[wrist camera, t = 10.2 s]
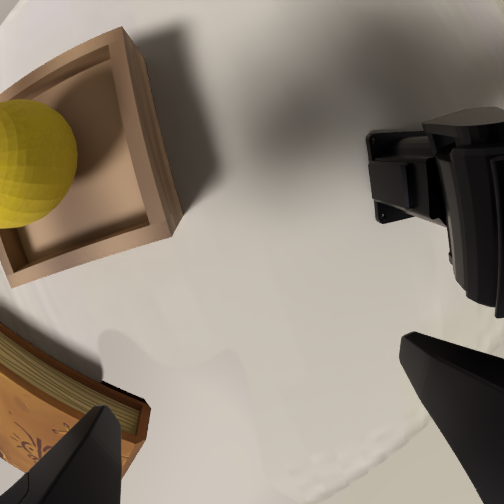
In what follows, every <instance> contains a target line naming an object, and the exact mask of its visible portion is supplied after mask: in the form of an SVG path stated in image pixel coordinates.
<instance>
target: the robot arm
mask: <svg viewBox="0 0 504 504" xmlns="http://www.w3.org/2000/svg"><path fill="white" fill-rule="evenodd" d="M422 126H423V129H424V131H415V132H393V133H377V134H370V135H368V136H367V138H366V144H367V150H368V156H369V165H368V167H369V174H370V182H371V191H372V198H373V199H374V205H375V217H376V220H377V222H379V223H381V224H386V223H390V222H394V221H398V220H403V219H407V218H411V217H415V216H416V217H419V218H422V219H424V220H427V221H430V222H433V223H436V224H438V225H441V226H444V227H446V228H447V231H448V239H449V248H450V252H449V261H450V263H451V264H452V265H453V271H454V275H455V278H456V281H457V282H458V283H459V284H460V285H461V287H462V288H463V289H464V290H465V291H466V296H467V297H468V298H469V299H471V300H473V301H475V302H477V303H479V304H482V305H485V306H488V307H494V308H495V317H496V318H504V110H503V109H500V108H497V107H485V108H475V109H467V110H463V111H460V112H456V113H453V114H449V115H446V116H443V117H439V118H436V119H433V120H430V121H426V122H423V123H422ZM372 138H374V139H375V143H374V144H373V143H372ZM382 214H384V218H383V219H381V216H382ZM399 360H400V363H401V365H402V367H403V368H404V370H405V372H406V374H407V376H408V378H409V380H410V382H411V384H412V386H413V388H414V389H415V391H416V393H417V395H418V397H419V399H420V400H421V402H422V404H423V405H424V407H425V408H426V410H427V411H428V413H429V414H430V416H431V417H432V419H433V420H434V422H435V423H436V425H437V426H438V428H439V429H440V431H441V433H442V434H443V436H444V437H445V439H446V440H447V442H448V444H449V445H450V447H451V448H452V450H453V452H454V453H455V455H456V456H457V458H458V460H459V461H460V463H461V465H462V466H463V468H464V470H465V471H466V473H467V475H468V476H469V478H470V480H471V482H472V483H473V485H474V487H475V488H476V491H477V492H478V494H479V496H480V498H481V500H482V501H483V503H484V504H504V359H503V358H500V357H496V356H493V355H489V354H486V353H483V352H479V351H476V350H473V349H469V348H466V347H463V346H460V345H456V344H453V343H450V342H447V341H443V340H440V339H437V338H434V337H431V336H427V335H424V334H421V333H418V332H414V331H413V332H410V333H408V334H406V335H404V336H402V338H401V344H400V353H399ZM121 476H122V451H121V424H120V422H119V420H118V419H117V417H116V416H115V415H114V413H113V412H112V411H111V409H110V408H109V407H108V406H107V405H95V406H93V407H92V408H91V409H90V410H89V411H88V412H87V413H86V414H85V415H84V416H83V417H82V418H81V419H80V420H79V421H78V422H77V423H76V424H75V425H74V426H73V427H72V428H71V429H70V430H69V431H68V432H67V433H66V434H65V435H64V436H63V437H62V438H61V439H60V440H59V441H58V442H57V443H56V444H55V445H54V446H53V447H52V448H51V449H50V450H49V451H48V452H47V453H46V454H45V455H44V456H43V457H42V458H41V459H40V460H39V461H38V462H37V463H36V464H35V465H33V466H32V467H31V468H30V469H29V472H26V473H25V474H24V475H23V476H22V477H21V478H20V479H19V480H18V481H17V482H16V483H15V484H14V485H13V486H12V487H10V488H9V489H8V490H7V491H6V492H4V493H3V494H2V495H1V496H0V504H120V495H121Z"/></svg>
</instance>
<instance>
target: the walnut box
mask: <svg viewBox="0 0 504 504" xmlns="http://www.w3.org/2000/svg"><path fill="white" fill-rule="evenodd" d="M15 99H26V100H32V101H36V102H41V103H44V104H46V105H48V106H50V107H51V108H52V109H54V110H55V111H57V112H58V113H60V114H61V115H62V116H63V118H64V119H65V120H66V122H67V123H68V124H69V126H70V127H71V129H72V132H73V134H74V137H75V140H76V144H77V152H78V157H77V168H76V172H75V176H74V180H73V182H72V184H71V186H70V189H69V191H68V193H67V194H66V195H65V197H64V198H63V199H62V201H61V202H60V204H59V205H58V206H57V207H56V208H54V209H53V210H52V211H51V212H50V213H49V214H47V215H46V216H45V217H43V218H41V219H39V220H37V221H35V222H33V223H31V224H28V225H26V226H22V227H16V228H0V261H1V264H2V266H3V269H4V272H5V274H6V277H7V279H8V281H9V284H10V286H11V288H14V287H17V286H20V285H22V284H25V283H28V282H31V281H34V280H37V279H39V278H42V277H45V276H48V275H51V274H54V273H57V272H60V271H63V270H66V269H69V268H72V267H75V266H78V265H81V264H84V263H87V262H90V261H93V260H97V259H100V258H103V257H106V256H109V255H112V254H116V253H119V252H122V251H125V250H129V249H132V248H135V247H139V246H142V245H145V244H149V243H152V242H155V241H159V240H162V239H166V238H169V237H172V235H173V233H174V231H175V229H176V228H177V226H178V224H179V222H180V220H181V219H182V217H183V213H182V209H181V206H180V202H179V199H178V195H177V192H176V188H175V185H174V181H173V177H172V174H171V170H170V166H169V162H168V159H167V155H166V151H165V147H164V143H163V139H162V135H161V131H160V127H159V122H158V118H157V114H156V110H155V105H154V101H153V96H152V92H151V87H150V83H149V78H148V73H147V68H146V63H145V59H144V57H143V56H142V54H141V53H140V51H139V50H138V49H137V47H136V46H135V44H134V43H133V41H132V40H131V39H130V37H129V36H128V34H127V33H126V31H125V30H124V29H123V27H122V26H121V27H119V28H116V29H114V30H111V31H109V32H106V33H104V34H102V35H99V36H97V37H95V38H93V39H91V40H88V41H86V42H84V43H82V44H80V45H78V46H76V47H74V48H72V49H70V50H68V51H66V52H65V53H63V54H61V55H59V56H57V57H56V58H54V59H52V60H50V61H49V62H47V63H45V64H44V65H42V66H40V67H39V68H37V69H36V70H34V71H32V72H31V73H29V74H28V75H26V76H25V77H23V78H22V79H20V80H19V81H18V82H16V83H15V84H13V85H12V86H11V87H9V88H8V89H7V90H5V91H4V92H3V93H1V94H0V102H4V101H9V100H15Z"/></svg>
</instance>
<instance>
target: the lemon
mask: <svg viewBox="0 0 504 504" xmlns="http://www.w3.org/2000/svg"><path fill="white" fill-rule="evenodd" d="M77 157H78V152H77V144H76V140H75V137H74V134H73V132H72V129H71V127H70V126H69V124H68V123H67V122H66V120H65V119H64V118H63V116H62V115H61V114H60V113H58V112H57V111H55V110H54V109H52V108H51V107H50V106H48V105H46V104H44V103H41V102H36V101H32V100H26V99H15V100H9V101H4V102H0V228H16V227H22V226H26V225H28V224H31V223H33V222H35V221H37V220H39V219H41V218H43V217H45V216H46V215H47V214H49V213H50V212H51V211H52V210H53V209H54V208H56V207H57V206H58V205H59V204H60V202H61V201H62V199H63V198H64V197H65V195H66V194H67V193H68V191H69V189H70V186H71V184H72V182H73V180H74V176H75V172H76V168H77Z"/></svg>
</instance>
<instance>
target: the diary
mask: <svg viewBox="0 0 504 504" xmlns="http://www.w3.org/2000/svg"><path fill="white" fill-rule="evenodd" d="M95 405H107V406H108V407H109V408H110V409H111V411H112V412H113V413H114V415H115V416H116V417H117V419H118V420H119V422H120V424H121V451H122V476H121V479H122V478H123V476H124V475H125V473H126V471H127V470H128V468H129V466H130V465H131V463H132V462H133V460H134V458H135V456H136V455H137V453H138V452H139V450H140V448H141V447H142V445H143V444H144V442H145V440H146V437H147V430H148V424H149V417H150V411H151V408H150V407H149V405H148V404H147V402H146V401H145V399H144V398H141V397H139V396H136V395H134V394H132V393H129V392H127V391H125V390H122V389H120V388H118V387H116V386H113V385H111V384H109V383H107V382H105V381H103V380H102V381H101V383H98V382H96V381H94V380H92V379H90V378H88V377H86V376H84V375H83V374H81V373H79V372H77V371H75V370H73V369H71V368H70V367H68V366H66V365H64V364H62V363H61V362H59V361H57V360H56V359H54V358H52V357H50V356H49V355H47V354H46V353H44V352H42V351H41V350H39V349H38V348H36V347H34V346H33V345H31V344H30V343H28V342H27V341H25V340H24V339H22V338H21V337H19V336H18V335H17V334H15V333H14V332H12V331H11V330H10V329H8V328H7V327H6V326H4V325H3V324H1V323H0V457H1V458H2V459H4V460H5V461H7V462H8V463H10V464H12V465H13V466H15V467H16V468H18V469H20V470H21V471H23V472H25V473H26V472H29V469H30V468H31V467H32V466H33V465H35V464H36V463H37V462H38V461H39V460H40V459H41V458H42V457H43V456H44V455H45V454H46V453H47V452H48V451H49V450H50V449H51V448H52V447H53V446H54V445H55V444H56V443H57V442H58V441H59V440H60V439H61V438H62V437H63V436H64V435H65V434H66V433H67V432H68V431H69V430H70V429H71V428H72V427H73V426H74V425H75V424H76V423H77V422H78V421H79V420H80V419H81V418H82V417H83V416H84V415H85V414H86V413H87V412H88V411H89V410H90V409H91V408H92V407H93V406H95Z"/></svg>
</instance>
